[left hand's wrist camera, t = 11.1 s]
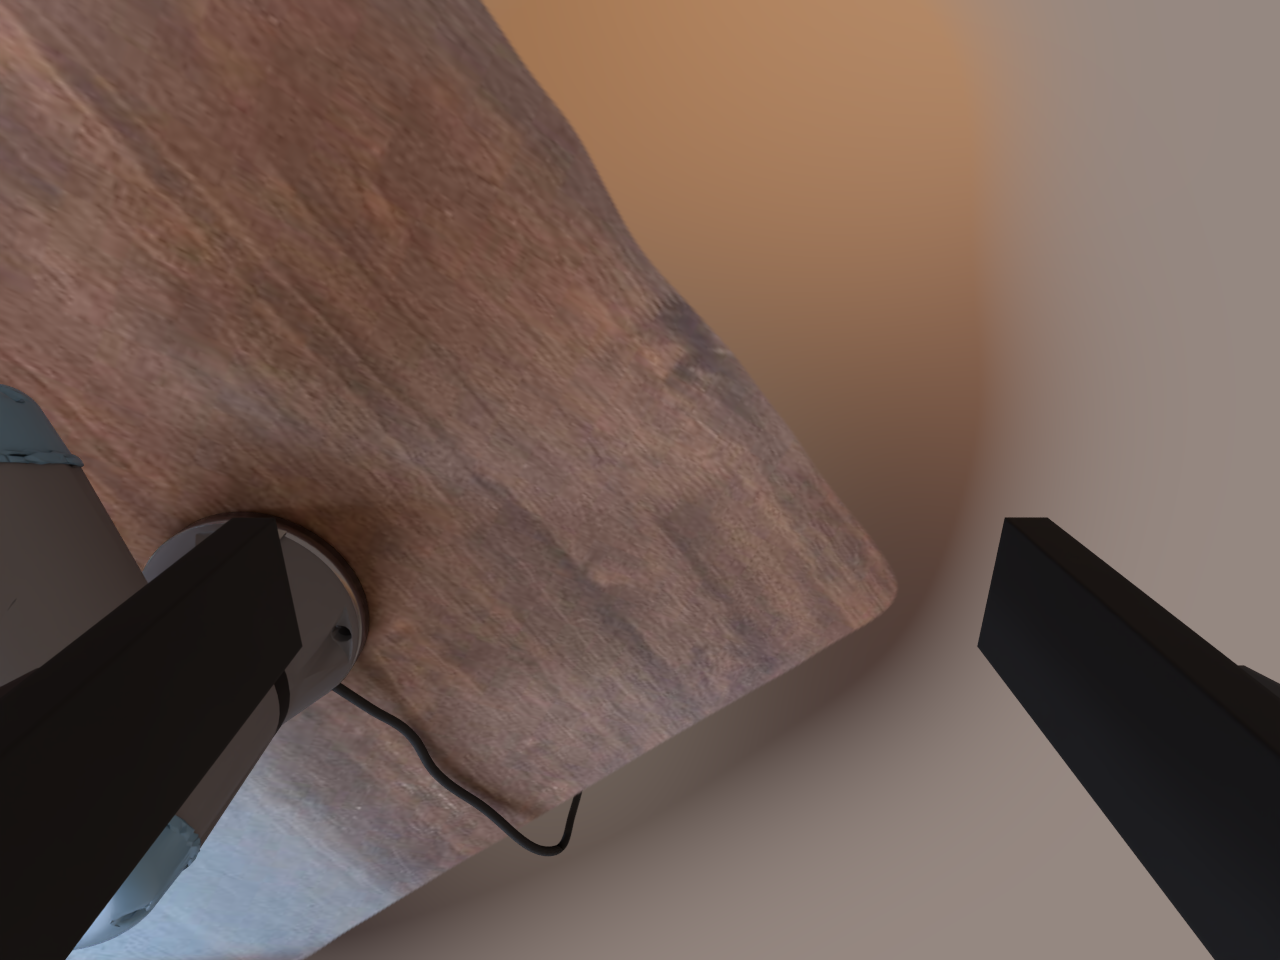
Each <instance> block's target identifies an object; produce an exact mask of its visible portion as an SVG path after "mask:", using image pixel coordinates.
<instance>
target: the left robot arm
mask: <svg viewBox="0 0 1280 960" xmlns="http://www.w3.org/2000/svg"><path fill="white" fill-rule="evenodd" d="M83 466H84V464H83V462H82V460H81V459H80V458H78V457H77V456H75V455H73V454H71V453H70V451H69V450H68V448H67V447H66V445H65V444H64V442H63V441H62V439H61V438H60V437H59V435H58V434H57V432H56V431H55V429H54V428H53V426H52V425H51V423H50V422H49V420H48V419H47V417H46V416H45V414H44V413H43V411H42V410H41V408H40V407H39V405H38V404H37V403H36V402H35V401H34V400H33V399H32V398H30V397H29V396H28V395H26V394H25V393H23V392H21V391H20V390H18V389H15V388H13V387H10V386H7V385H3V384H0V960H65V959H66V958H67V957H68V955H69V954H70V953H71V951H72V950H77V949H82V948H86V947H90V946H94V945H97V944H100V943H103V942H105V941H108V940H110V939H113V938H115V937H117V936H119V935H120V934H122V933H124V932H126V931H127V930H129V929H131V928H132V927H133V926H135V925H136V924H138V923H139V922H140V921H141V920H142V919H143V918H144V917H145V916H147V915H148V914H149V913H150V911H151V910H152V909H153V908H154V907H155V905H156V904H157V903H158V901H159V900H160V899H161V898H162V896H163V895H164V894H165V892H166V891H167V890H168V888H169V887H170V886H171V885H172V883H173V882H174V881H175V880H176V878H177V877H178V876H179V875H180V873H181V872H182V871H183V870H184V869H186V868H187V867H188V866H189V865H190V864H191V863H192V862H193V861H194V860H195V859H196V857H197V854H198V852H200V848H201V846H202V845H203V843H204V842H205V840H206V839H207V837H208V836H209V834H210V833H211V831H212V829H213V828H214V826H215V825H216V823H217V822H218V820H219V819H220V817H221V816H222V814H223V813H224V811H225V810H226V808H227V807H228V805H229V804H230V802H231V801H232V799H233V798H234V796H235V795H236V793H237V792H238V790H239V789H240V787H241V786H242V784H243V783H244V781H245V779H246V778H247V776H248V775H249V773H250V772H251V770H252V769H253V767H254V766H255V764H256V763H257V761H258V760H259V758H260V757H261V755H262V754H263V752H264V751H265V749H266V748H267V746H268V745H269V743H270V742H271V740H272V738H273V737H274V735H275V734H276V733H277V731H278V730H279V728H280V727H281V725H282V724H284V723H285V722H287V721H288V720H290V719H291V718H292V717H294V716H295V715H297V714H298V713H300V712H301V711H303V710H304V709H305V708H307V707H308V706H310V705H311V704H313V703H314V702H316V701H317V700H318V699H320V698H321V697H323V696H324V695H326V694H327V693H328V692H330V691H331V690H333V691H334V692H336V693H337V694H339V695H341V696H342V697H344V698H345V699H347V700H348V701H350V702H351V703H353V704H354V705H356V706H357V707H359V708H361V709H362V710H364V711H365V712H367V713H368V714H370V715H372V716H374V717H375V718H377V719H379V720H381V721H383V722H385V723H387V724H388V725H390V726H392V727H394V728H395V729H397V730H398V731H399V732H401V733H402V734H403V735H404V736H405V737H406V738H407V739H408V740H409V741H410V743H411V744H412V745H413V747H414V749H415V750H416V752H417V754H418V756H419V758H420V759H421V761H422V763H423V765H424V766H425V768H426V769H427V771H428V772H429V773H430V774H431V775H432V776H433V777H434V778H435V779H436V780H437V781H438V782H439V783H440V784H441V785H442V786H444V787H445V788H446V789H447V790H449V791H450V792H452V793H453V794H455V795H456V796H458V797H459V798H461V799H462V800H464V801H466V802H467V803H469V804H470V805H472V806H473V807H475V808H476V809H478V810H479V811H480V812H482V813H483V814H484V815H486V816H487V817H488V818H489V819H490V820H492V821H493V822H494V823H495V824H496V825H497V826H498V827H499V828H501V829H502V830H503V831H504V832H505V833H506V834H507V835H508V836H509V837H511V838H512V839H513V840H514V841H515V842H517V843H518V844H519V845H521V846H522V847H523V848H525V849H527V850H528V851H530V852H532V853H535V854H538V855H542V856H554V855H557V854H559V853H561V852H562V851H563V850H564V849H565V848H566V847H567V845H568V843H569V840H570V837H571V833H572V829H573V824H574V820H575V816H576V813H577V809H578V806H579V802H580V799H581V795H582V791H583V790H582V791H581V792H579V793H577V794H576V795H574V797H573V800H572V804H571V807H570V810H569V814H568V817H567V821H566V825H565V830H564V834H563V836H562V839H561V841H560V842H559V843H558V844H557V845H555V846H552V847H545V846H540V845H538V844H535V843H534V842H532V841H530V840H529V839H527V838H526V837H524V836H523V835H522V834H521V833H520V832H518V831H517V830H516V829H515V828H514V827H513V826H512V825H510V824H509V823H508V822H507V821H506V820H505V819H504V818H503V817H502V816H501V815H499V814H498V813H497V812H496V811H495V810H494V809H492V808H491V807H490V806H489V805H487V804H486V803H485V802H483V801H482V800H480V799H479V798H477V797H476V796H474V795H473V794H471V793H470V792H468V791H466V790H465V789H463V788H462V787H460V786H459V785H457V784H456V783H454V782H453V781H452V780H451V779H449V778H448V777H447V776H446V775H445V774H444V773H443V772H442V771H441V770H440V769H439V768H438V767H437V766H436V765H435V763H434V762H433V760H432V759H431V757H430V755H429V753H428V751H427V749H426V748H425V746H424V744H423V742H422V741H421V739H420V738H419V736H418V735H417V734H416V733H415V732H414V731H413V730H412V729H411V728H410V727H409V726H408V725H407V724H405V723H404V722H403V721H401V720H400V719H398V718H396V717H395V716H393V715H391V714H389V713H387V712H385V711H384V710H382V709H380V708H378V707H377V706H375V705H373V704H372V703H370V702H369V701H367V700H366V699H364V698H363V697H361V696H360V695H358V694H356V693H355V692H353V691H352V690H350V689H349V688H347V687H346V686H344V685H343V684H341V682H342V680H343V679H344V678H345V677H346V676H347V674H348V673H349V671H350V670H351V668H352V667H353V665H354V663H355V662H356V660H357V659H358V657H359V655H360V653H361V652H362V650H363V647H364V645H365V642H366V639H367V635H368V628H369V612H368V605H367V601H366V597H365V594H364V591H363V589H362V586H361V584H360V582H359V580H358V578H357V577H356V575H355V573H354V572H353V570H352V569H351V567H350V566H349V565H348V563H347V562H346V561H345V560H344V559H343V557H342V556H341V555H340V554H339V553H338V552H337V551H336V550H335V549H334V548H333V547H331V546H330V545H329V544H328V543H327V542H325V541H324V540H323V539H321V538H320V537H318V536H317V535H316V534H314V533H312V532H311V531H309V530H307V529H305V528H303V527H301V526H299V525H297V524H295V523H293V522H290V521H287V520H285V519H282V518H278V517H275V516H271V515H266V514H261V513H253V512H228V513H222V514H216V515H212V516H208V517H206V518H203V519H200V520H198V521H196V522H194V523H192V524H190V525H189V526H187V527H186V528H184V529H182V530H181V531H180V532H178V533H177V534H176V535H174V536H173V537H171V538H170V539H169V540H167V541H166V542H165V543H164V544H162V545H161V546H160V547H159V548H158V549H157V550H156V551H155V552H154V554H153V555H152V556H151V558H150V559H149V561H148V563H147V565H146V566H145V568H144V570H143V572H141V570H140V568H139V567H138V565H137V563H136V561H135V560H134V558H133V556H132V555H131V553H130V551H129V549H128V548H127V546H126V544H125V542H124V541H123V539H122V537H121V536H120V534H119V532H118V530H117V529H116V527H115V525H114V523H113V522H112V520H111V518H110V517H109V515H108V513H107V511H106V510H105V508H104V506H103V504H102V503H101V501H100V499H99V498H98V496H97V494H96V492H95V491H94V489H93V487H92V485H91V484H90V482H89V480H88V479H87V477H86V475H85V473H84V472H83V470H82V468H81V467H83ZM978 648H979V649H980V650H981V652H982V653H983V654H984V656H985V657H986V658H987V660H988V661H989V662H990V664H991V665H992V666H993V668H994V669H995V670H996V672H997V673H998V674H999V676H1000V677H1001V678H1002V680H1003V681H1004V682H1005V683H1006V685H1007V686H1008V687H1009V689H1010V690H1011V691H1012V693H1013V694H1014V695H1015V697H1016V698H1017V699H1018V701H1019V702H1020V703H1021V705H1022V706H1023V707H1024V708H1025V710H1026V711H1027V713H1028V714H1029V715H1030V716H1031V718H1032V719H1033V720H1034V722H1035V723H1036V724H1037V726H1038V727H1039V728H1040V730H1041V731H1042V732H1043V734H1044V735H1045V736H1046V738H1047V739H1048V740H1049V742H1050V743H1051V744H1052V745H1053V747H1054V748H1055V749H1056V751H1057V752H1058V753H1059V755H1060V756H1061V757H1062V759H1063V760H1064V761H1065V763H1066V764H1067V765H1068V767H1069V768H1070V769H1071V771H1072V772H1073V773H1074V775H1075V776H1076V777H1077V779H1078V780H1079V781H1080V782H1081V784H1082V785H1083V786H1084V788H1085V789H1086V790H1087V792H1088V793H1089V794H1090V796H1091V797H1092V798H1093V800H1094V801H1095V802H1096V804H1097V805H1098V806H1099V808H1100V809H1101V810H1102V812H1103V813H1104V814H1105V816H1106V817H1107V818H1108V819H1109V821H1110V822H1111V823H1112V825H1113V826H1114V827H1115V829H1116V830H1117V831H1118V833H1119V834H1120V835H1121V837H1122V838H1123V839H1124V841H1125V842H1126V843H1127V845H1128V846H1129V847H1130V849H1131V850H1132V851H1133V852H1134V854H1135V855H1136V856H1137V858H1138V859H1139V860H1140V862H1141V863H1142V864H1143V866H1144V867H1145V868H1146V870H1147V871H1148V872H1149V874H1150V875H1151V876H1152V878H1153V879H1154V880H1155V881H1156V883H1157V884H1158V885H1159V887H1160V888H1161V889H1162V891H1163V892H1164V893H1165V895H1166V896H1167V897H1168V899H1169V900H1170V901H1171V903H1172V904H1173V905H1174V907H1175V908H1176V909H1177V911H1178V912H1179V913H1180V914H1181V916H1182V917H1183V918H1184V920H1185V921H1186V922H1187V924H1188V925H1189V926H1190V928H1191V929H1192V930H1193V932H1194V933H1195V934H1196V936H1197V937H1198V938H1199V940H1200V941H1201V942H1202V943H1203V945H1204V946H1205V948H1206V949H1207V950H1208V951H1209V953H1210V954H1211V955H1212V957H1213V958H1214V959H1215V960H1280V684H1279V683H1277V682H1275V681H1273V680H1271V679H1269V678H1267V677H1265V676H1263V675H1262V674H1259V673H1258V672H1256V671H1254V670H1252V669H1250V668H1248V667H1246V666H1238V665H1236V664H1235V663H1234V662H1232V661H1231V660H1230V659H1229V658H1227V657H1226V656H1225V655H1224V654H1222V653H1221V652H1220V651H1218V650H1217V649H1216V648H1215V647H1213V646H1212V645H1211V644H1209V643H1208V642H1207V641H1206V640H1204V639H1203V638H1202V637H1200V636H1199V635H1198V634H1197V633H1195V632H1194V631H1193V630H1191V629H1190V628H1189V627H1188V626H1186V625H1185V624H1184V623H1182V622H1181V621H1180V620H1179V619H1177V618H1176V617H1175V616H1173V615H1172V614H1171V613H1170V612H1168V611H1167V610H1166V609H1164V608H1163V607H1162V606H1160V605H1159V604H1158V603H1157V602H1155V601H1154V600H1153V599H1152V598H1150V597H1149V596H1148V595H1146V594H1145V593H1144V592H1143V591H1141V590H1140V589H1139V588H1137V587H1136V586H1135V585H1134V584H1132V583H1131V582H1130V581H1128V580H1127V579H1126V578H1124V577H1123V576H1122V575H1121V574H1119V573H1118V572H1117V571H1116V570H1114V569H1113V568H1112V567H1110V566H1109V565H1108V564H1107V563H1105V562H1104V561H1103V560H1101V559H1100V558H1099V557H1097V556H1096V555H1095V554H1094V553H1092V552H1091V551H1090V550H1089V549H1087V548H1086V547H1085V546H1083V545H1082V544H1081V543H1079V542H1078V541H1077V540H1076V539H1074V538H1073V537H1072V536H1071V535H1069V534H1068V533H1067V532H1065V531H1064V530H1063V529H1061V528H1060V527H1059V526H1058V525H1056V524H1055V523H1054V522H1052V521H1051V520H1050V519H1049V518H1005V519H1004V524H1003V529H1002V533H1001V538H1000V543H999V547H998V552H997V557H996V561H995V566H994V571H993V575H992V580H991V585H990V590H989V594H988V599H987V604H986V608H985V613H984V618H983V622H982V627H981V632H980V637H979V641H978Z"/></svg>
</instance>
